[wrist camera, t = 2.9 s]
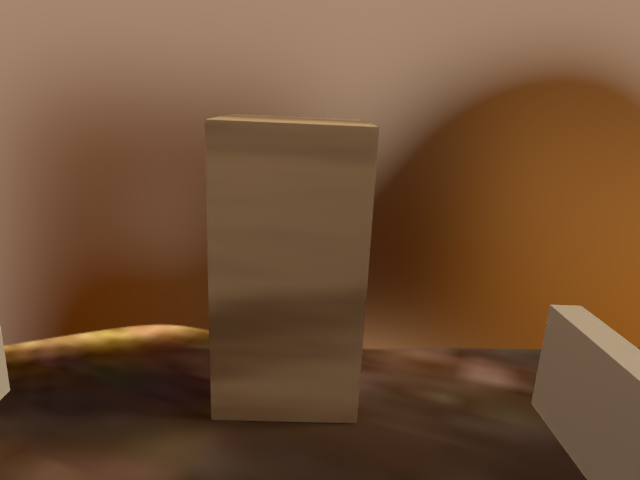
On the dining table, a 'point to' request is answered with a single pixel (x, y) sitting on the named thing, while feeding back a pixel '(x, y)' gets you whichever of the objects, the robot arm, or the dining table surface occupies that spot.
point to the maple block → (288, 264)
